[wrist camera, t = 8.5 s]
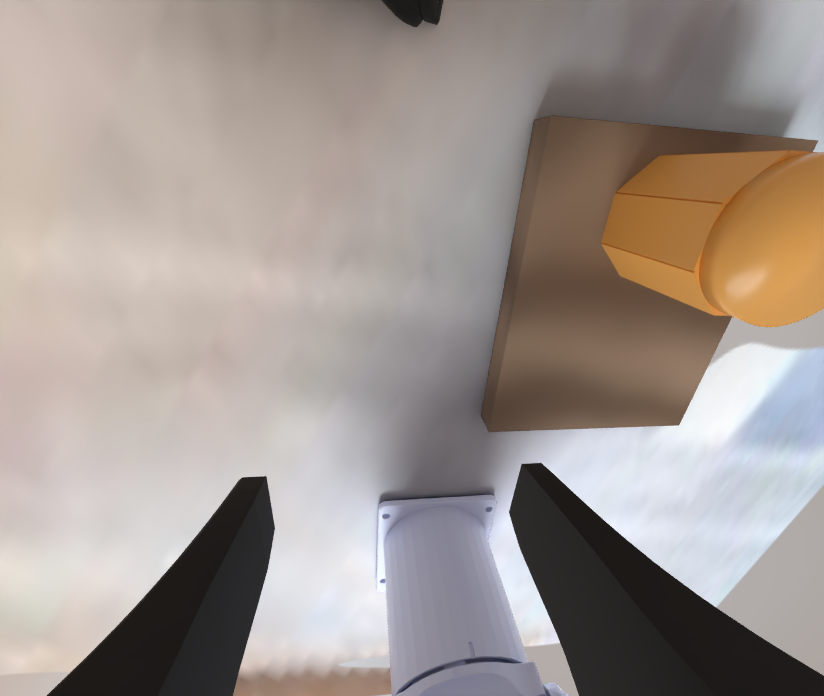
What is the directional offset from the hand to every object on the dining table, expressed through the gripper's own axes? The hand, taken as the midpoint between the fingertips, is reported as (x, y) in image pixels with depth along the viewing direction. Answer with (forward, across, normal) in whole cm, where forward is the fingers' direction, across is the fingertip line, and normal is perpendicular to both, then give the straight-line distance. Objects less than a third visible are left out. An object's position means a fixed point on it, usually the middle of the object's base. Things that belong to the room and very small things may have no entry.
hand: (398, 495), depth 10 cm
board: (+9, -12, -3) cm, 16 cm away
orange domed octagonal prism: (+8, -12, -7) cm, 16 cm away
